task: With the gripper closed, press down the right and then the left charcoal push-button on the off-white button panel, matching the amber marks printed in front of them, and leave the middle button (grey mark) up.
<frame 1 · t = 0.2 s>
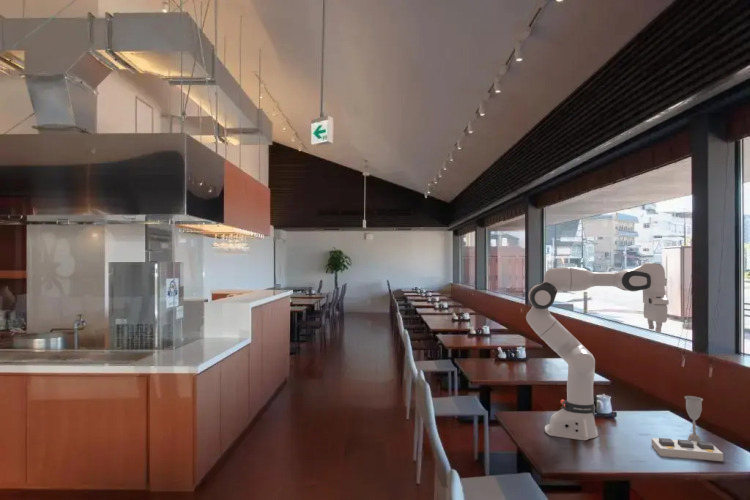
hand: (654, 330, 218), 47 cm above the table, tool pointing down, fingers open, 8 cm apart
chalice: (694, 440, 217), on the table
button middle: (685, 444, 202), point 3 cm above the table, slide at 0.0 cm
button right: (705, 446, 200), point 3 cm above the table, slide at 0.0 cm
button left: (666, 443, 204), point 3 cm above the table, slide at 0.0 cm
panel: (685, 452, 202), on the table
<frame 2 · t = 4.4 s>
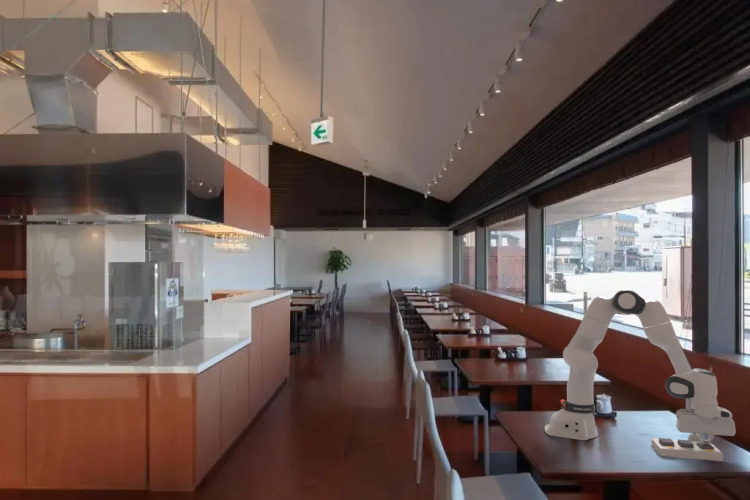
hand: (705, 444, 200), 4 cm above the table, tool pointing down, fingers closed, pressing on button right
button right: (705, 448, 200), point 3 cm above the table, slide at 0.6 cm, touching gripper
everything else where it was.
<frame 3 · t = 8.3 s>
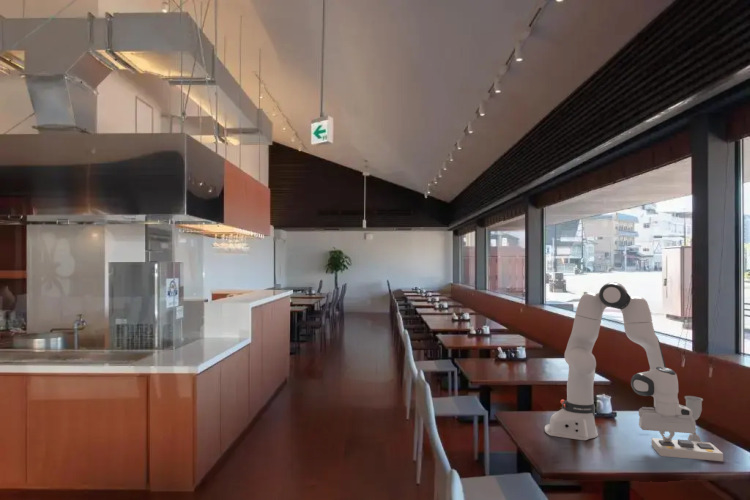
hand: (667, 442, 204), 4 cm above the table, tool pointing down, fingers closed, pressing on button left
button right: (705, 448, 200), point 2 cm above the table, slide at 0.9 cm
button left: (666, 445, 204), point 2 cm above the table, slide at 0.8 cm, touching gripper
everything else where it was.
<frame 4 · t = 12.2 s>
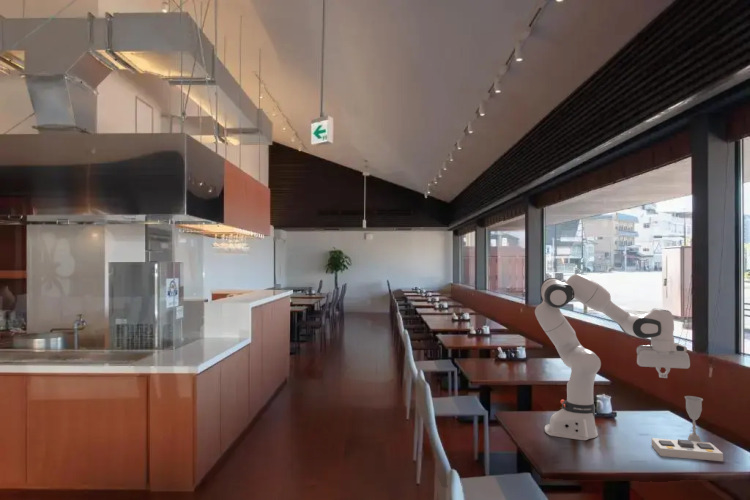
hand: (663, 377, 217), 27 cm above the table, tool pointing down, fingers closed
button left: (666, 445, 204), point 2 cm above the table, slide at 0.9 cm
everything else where it was.
at the end: button right slide at 0.9 cm; button left slide at 0.9 cm; button middle slide at 0.0 cm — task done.
